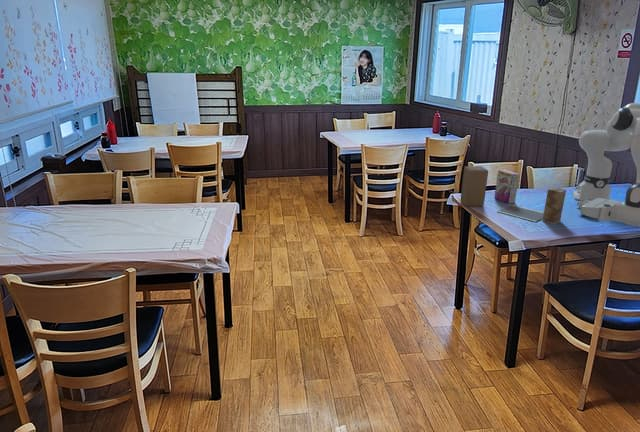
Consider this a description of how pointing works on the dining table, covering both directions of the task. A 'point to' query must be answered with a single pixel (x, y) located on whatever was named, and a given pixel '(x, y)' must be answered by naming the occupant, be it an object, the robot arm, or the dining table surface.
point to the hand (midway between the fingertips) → (578, 202)
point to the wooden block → (474, 185)
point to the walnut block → (554, 205)
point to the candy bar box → (506, 186)
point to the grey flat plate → (522, 213)
